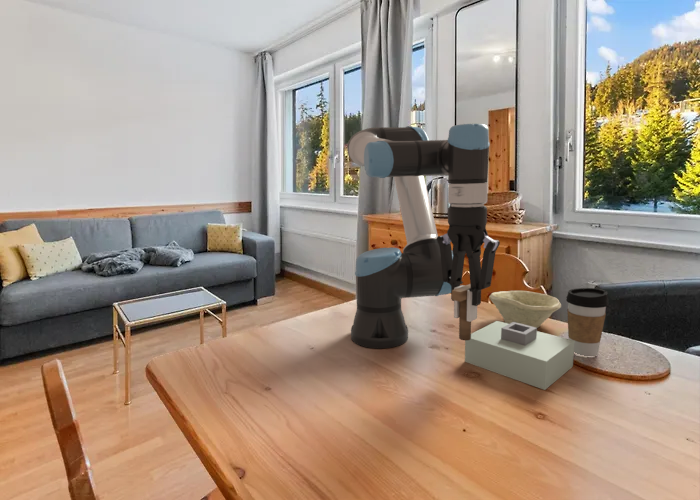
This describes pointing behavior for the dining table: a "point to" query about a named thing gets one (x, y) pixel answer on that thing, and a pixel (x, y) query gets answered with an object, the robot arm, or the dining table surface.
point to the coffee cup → (586, 318)
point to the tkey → (462, 312)
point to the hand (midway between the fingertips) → (465, 317)
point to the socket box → (520, 353)
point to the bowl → (525, 306)
